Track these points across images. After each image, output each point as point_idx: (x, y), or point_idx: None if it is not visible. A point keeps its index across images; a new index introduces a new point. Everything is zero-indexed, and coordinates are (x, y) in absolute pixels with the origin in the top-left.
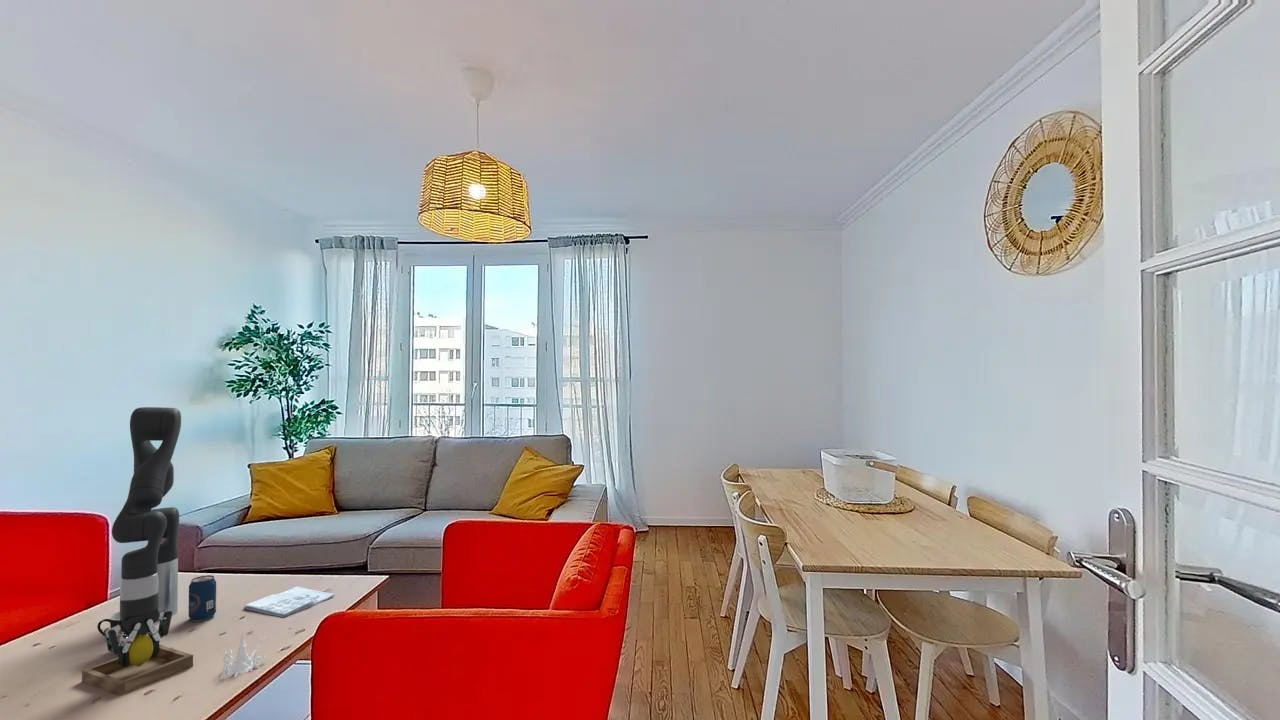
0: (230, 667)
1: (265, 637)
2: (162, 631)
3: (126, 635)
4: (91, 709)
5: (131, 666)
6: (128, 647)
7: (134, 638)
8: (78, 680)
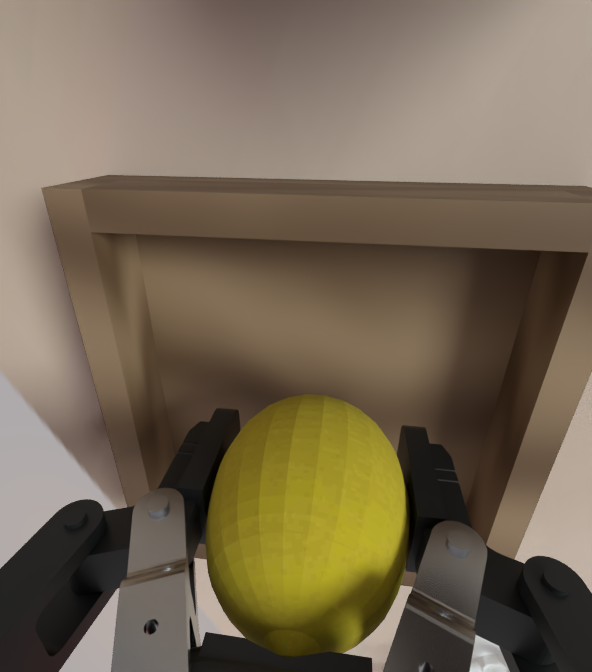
0: (495, 665)
1: None
2: (522, 649)
3: (171, 631)
4: (83, 469)
5: (355, 269)
6: (190, 585)
7: (243, 625)
8: (111, 58)
